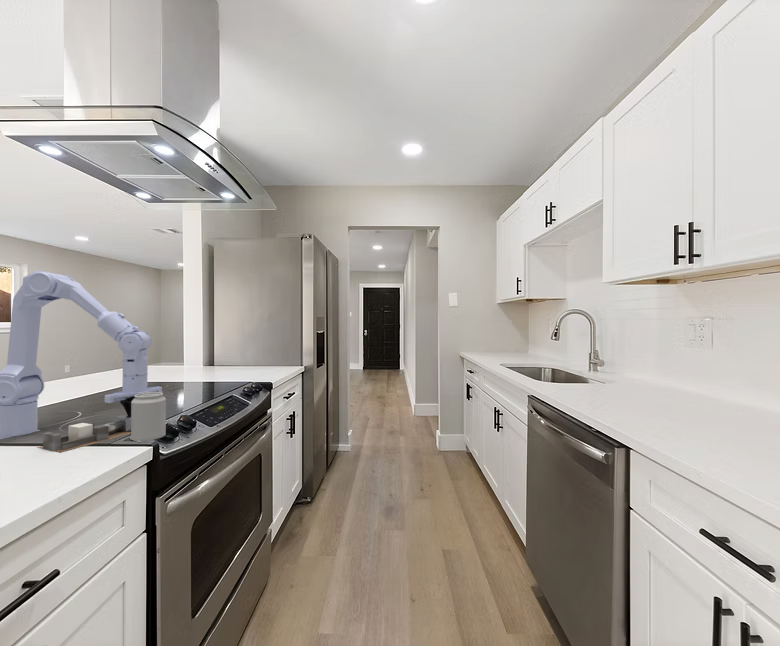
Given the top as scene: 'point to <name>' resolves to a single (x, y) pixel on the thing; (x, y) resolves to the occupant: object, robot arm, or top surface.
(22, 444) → the top surface
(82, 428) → the spacer
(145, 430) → the can
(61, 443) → the bearing bench
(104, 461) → the top surface
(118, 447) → the top surface
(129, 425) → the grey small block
